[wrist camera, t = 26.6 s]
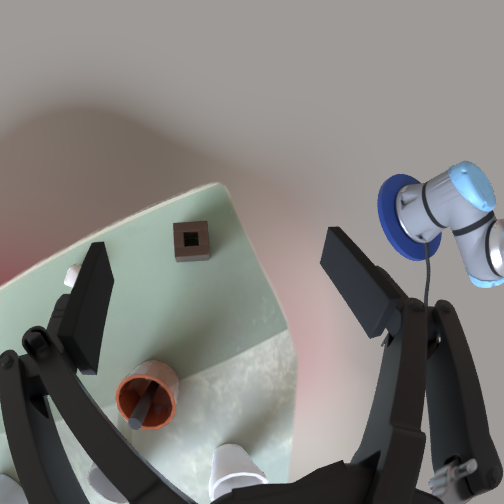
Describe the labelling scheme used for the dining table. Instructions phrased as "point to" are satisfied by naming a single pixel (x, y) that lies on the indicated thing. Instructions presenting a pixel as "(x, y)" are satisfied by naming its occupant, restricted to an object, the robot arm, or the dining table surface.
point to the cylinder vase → (11, 491)
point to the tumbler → (137, 385)
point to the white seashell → (72, 275)
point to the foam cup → (233, 471)
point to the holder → (191, 232)
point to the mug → (104, 485)
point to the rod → (143, 406)
